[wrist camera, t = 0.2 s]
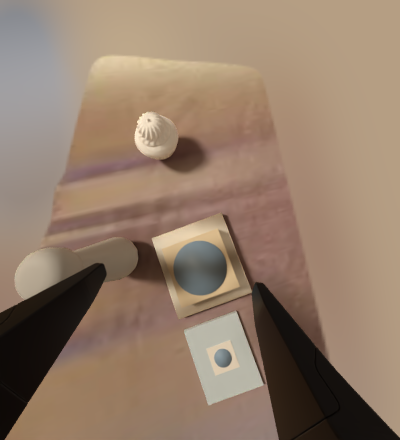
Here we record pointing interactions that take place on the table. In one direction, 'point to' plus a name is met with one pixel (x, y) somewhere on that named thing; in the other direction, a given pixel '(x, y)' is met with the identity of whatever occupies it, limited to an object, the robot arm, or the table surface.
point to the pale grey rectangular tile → (223, 358)
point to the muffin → (156, 136)
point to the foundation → (201, 266)
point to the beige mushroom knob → (74, 264)
